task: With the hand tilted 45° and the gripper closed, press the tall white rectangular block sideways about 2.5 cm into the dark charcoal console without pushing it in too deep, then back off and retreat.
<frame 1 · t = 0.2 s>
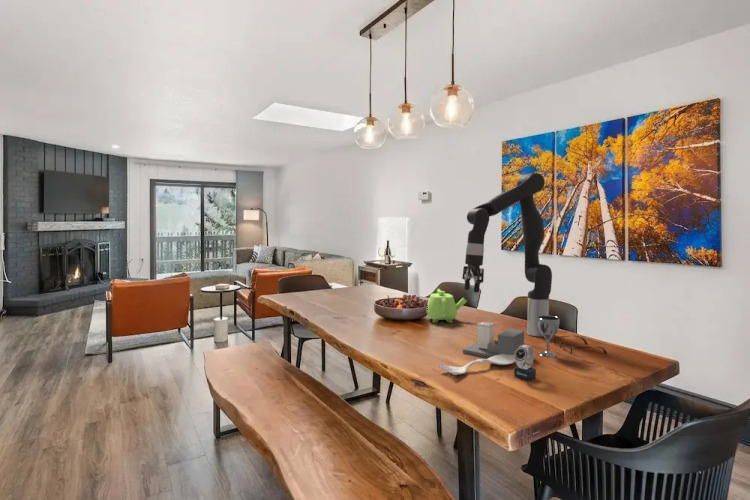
hand: (471, 290, 186), 23 cm above the table, tool pointing down, fingers open, 8 cm apart
teapot: (446, 319, 231), on the table
wine glass: (547, 355, 170), on the table
watch: (524, 377, 145), on the table
white rectangular block: (485, 335, 174), point 7 cm above the table, slide at 0.0 cm
console: (493, 353, 172), on the table
eyeglasses: (579, 350, 178), on the table
spoon: (480, 369, 154), on the table, touching console
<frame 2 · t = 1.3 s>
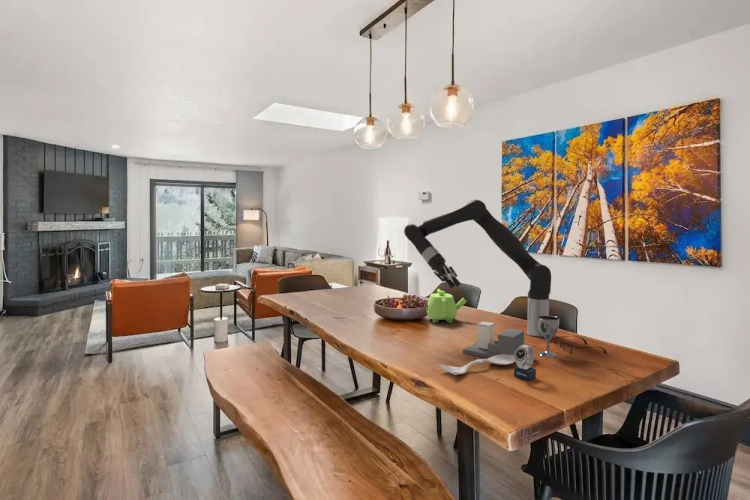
hand: (456, 286, 191), 24 cm above the table, tool tilted 45°, fingers open, 5 cm apart
nothing on the table moved.
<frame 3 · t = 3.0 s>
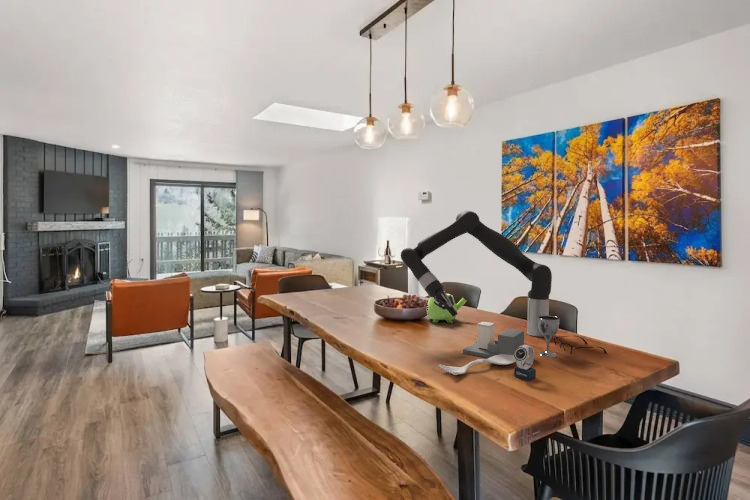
hand: (455, 315, 182), 13 cm above the table, tool tilted 45°, fingers closed
nothing on the table moved.
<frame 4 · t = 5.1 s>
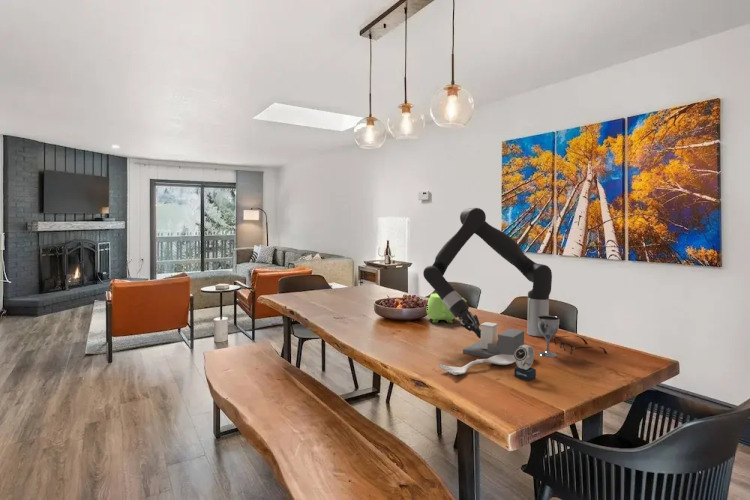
hand: (482, 336, 175), 6 cm above the table, tool tilted 45°, fingers closed
white rectangular block: (489, 335, 173), point 7 cm above the table, slide at 1.4 cm, touching gripper
everything else where it was.
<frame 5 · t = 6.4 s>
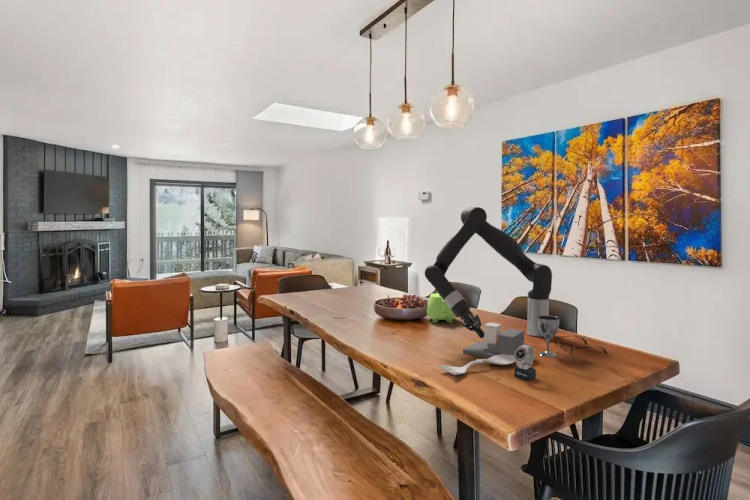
hand: (483, 336, 174), 6 cm above the table, tool tilted 45°, fingers closed
white rectangular block: (492, 336, 172), point 7 cm above the table, slide at 2.9 cm
everything else where it was.
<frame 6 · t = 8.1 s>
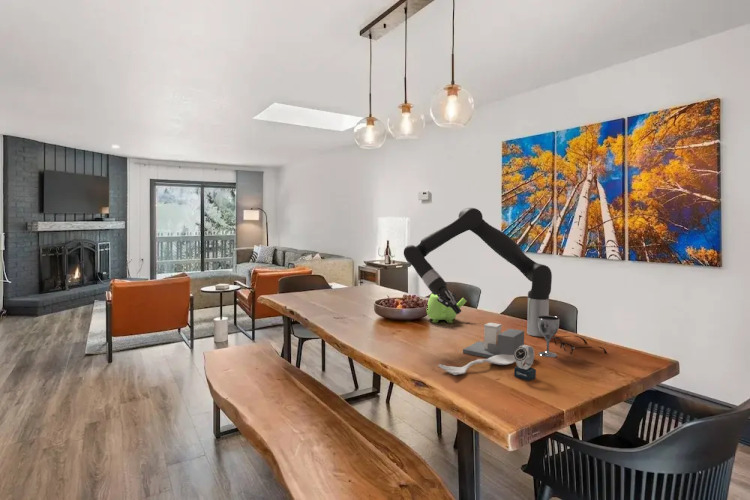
hand: (459, 312, 180), 14 cm above the table, tool tilted 45°, fingers closed
nothing on the table moved.
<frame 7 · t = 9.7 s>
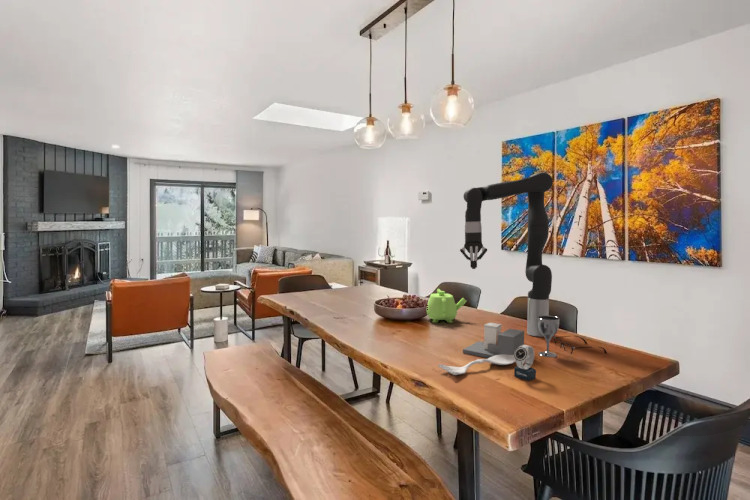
hand: (473, 268, 197), 31 cm above the table, tool pointing down, fingers closed
nothing on the table moved.
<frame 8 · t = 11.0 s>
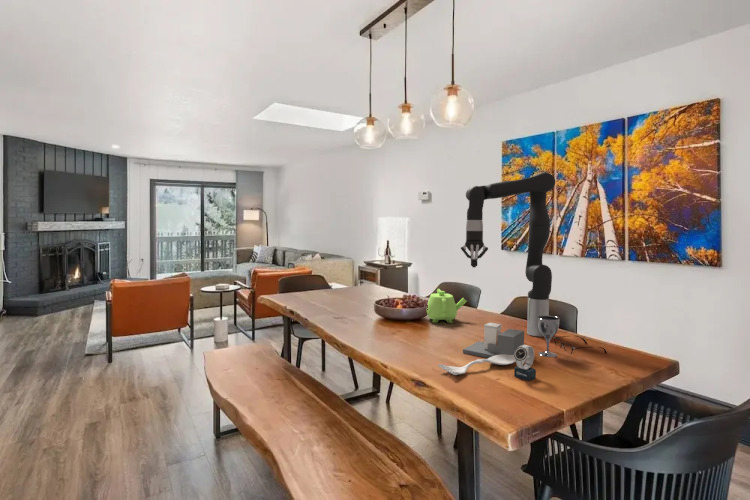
hand: (474, 267, 197), 32 cm above the table, tool pointing down, fingers closed
nothing on the table moved.
at the end: white rectangular block slide at 2.9 cm; white rectangular block touching nothing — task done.
